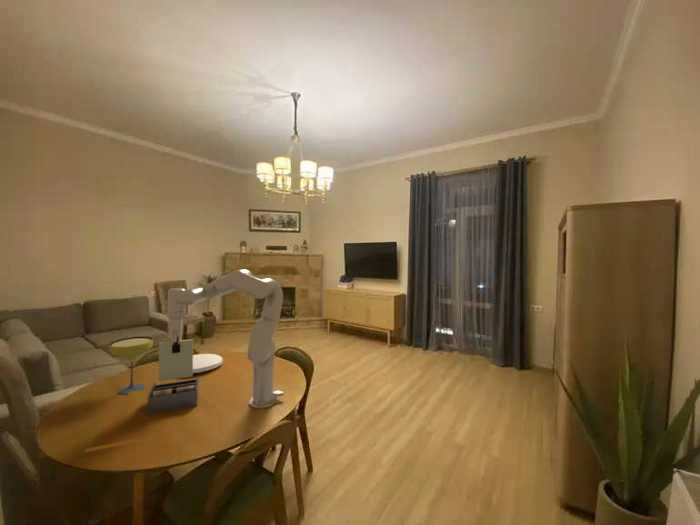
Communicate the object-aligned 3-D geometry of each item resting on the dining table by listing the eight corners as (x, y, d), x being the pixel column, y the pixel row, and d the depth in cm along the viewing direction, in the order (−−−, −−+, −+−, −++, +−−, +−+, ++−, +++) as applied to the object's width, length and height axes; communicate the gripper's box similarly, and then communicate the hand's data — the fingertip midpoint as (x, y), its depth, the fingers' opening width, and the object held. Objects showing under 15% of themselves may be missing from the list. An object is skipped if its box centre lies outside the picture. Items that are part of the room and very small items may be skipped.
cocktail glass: (144, 395, 142) (145, 345, 141) (101, 400, 137) (101, 348, 136) (158, 380, 159) (158, 335, 159) (119, 383, 154) (119, 337, 154)
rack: (198, 394, 145) (198, 376, 145) (197, 407, 132) (197, 388, 132) (153, 401, 137) (153, 383, 136) (147, 416, 124) (147, 396, 124)
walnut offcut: (194, 401, 136) (194, 384, 136) (193, 404, 133) (193, 387, 133) (177, 404, 133) (177, 387, 133) (176, 407, 130) (176, 390, 130)
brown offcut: (172, 405, 132) (172, 388, 132) (171, 408, 129) (171, 391, 129) (153, 408, 129) (153, 390, 129) (152, 411, 126) (152, 393, 126)
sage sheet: (192, 375, 142) (193, 339, 141) (192, 376, 140) (192, 340, 140) (159, 379, 136) (159, 342, 135) (158, 381, 134) (158, 343, 134)
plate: (196, 350, 195) (231, 354, 189) (196, 360, 194) (231, 364, 189) (162, 361, 167) (202, 366, 162) (161, 372, 167) (201, 377, 161)
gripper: (169, 311, 143) (169, 348, 143) (165, 318, 129) (164, 358, 129) (187, 310, 146) (186, 346, 146) (184, 317, 132) (183, 356, 132)
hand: (176, 351), depth 138 cm, fingers closed on sage sheet, 1 cm apart
